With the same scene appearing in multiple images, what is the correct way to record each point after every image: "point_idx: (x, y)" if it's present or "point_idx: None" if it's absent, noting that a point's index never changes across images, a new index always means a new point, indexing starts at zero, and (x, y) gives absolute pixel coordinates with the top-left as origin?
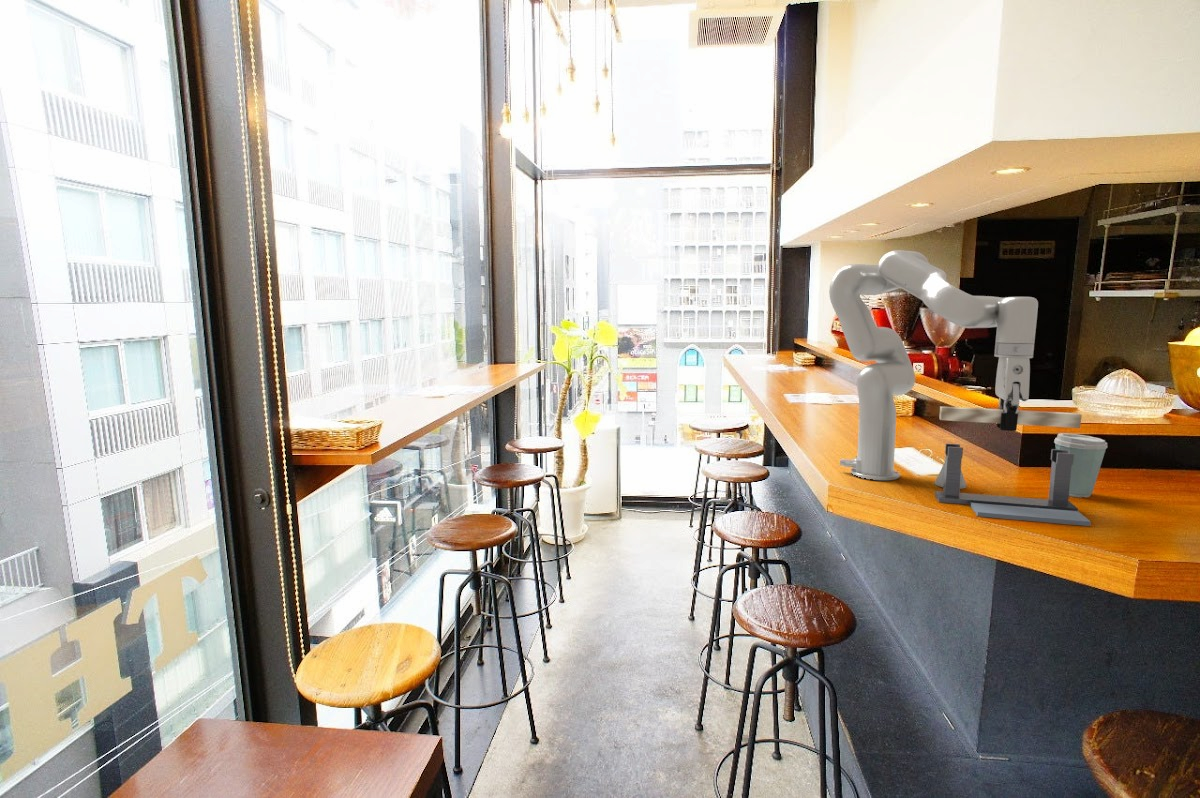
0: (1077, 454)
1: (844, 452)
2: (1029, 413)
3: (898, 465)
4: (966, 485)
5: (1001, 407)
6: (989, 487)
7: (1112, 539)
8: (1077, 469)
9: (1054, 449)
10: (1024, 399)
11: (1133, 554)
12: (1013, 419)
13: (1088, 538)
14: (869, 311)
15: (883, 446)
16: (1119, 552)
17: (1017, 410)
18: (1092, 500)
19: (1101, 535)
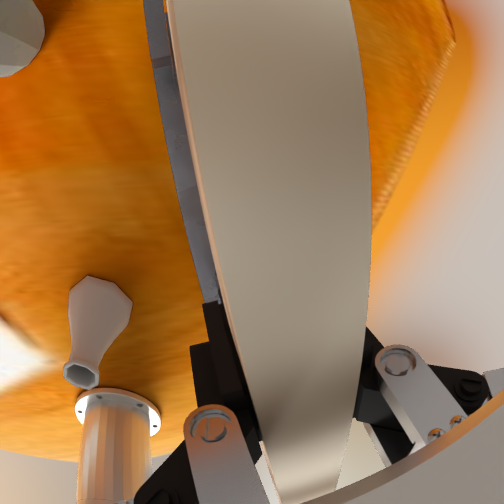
0: (1, 4)
1: (10, 440)
2: (359, 270)
3: (12, 388)
4: (86, 278)
5: (255, 468)
6: (50, 228)
7: (388, 27)
8: (22, 16)
9: (156, 47)
10: (491, 416)
11: (439, 35)
12: (369, 335)
13: (399, 64)
14: None
15: (142, 461)
16: (439, 50)
17: (423, 366)
18: (63, 3)
19: (374, 34)
